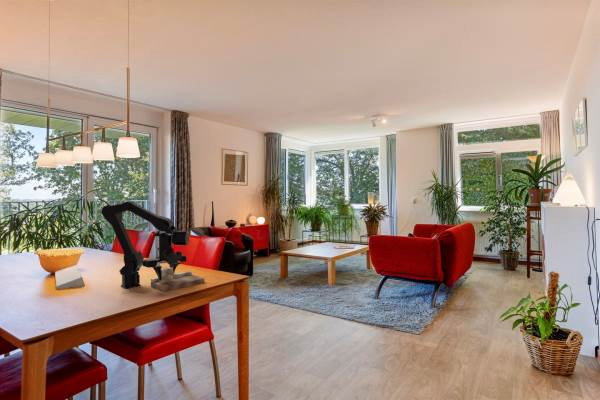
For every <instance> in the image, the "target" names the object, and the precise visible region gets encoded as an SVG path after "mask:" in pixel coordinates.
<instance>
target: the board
mask: <svg viewBox="0 0 600 400" xmlns="http://www.w3.org/2000/svg"><path fill="white" fill-rule="evenodd" d="M203 283H205V277H201V276H199V275H196V274H193V271H190V270H189V271H184V272H178V273H175V274H174V275H173V281H170V282H166V283H161V282H159V278H158V276H156V277H153V278H150V287H151V288H154V289H157V290H160V291H162V292H164V293H165V292H167V291H169V292H170V291H172V290H179V289H181V288H186V287H190V286H195V285H199V284H203Z"/></svg>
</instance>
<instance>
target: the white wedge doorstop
mask: <svg viewBox="0 0 600 400" xmlns="http://www.w3.org/2000/svg"><path fill="white" fill-rule="evenodd" d="M54 274H55V276H54V277H55V282H56V283H55V284H56V288H57V290H63V289H70V288H76V287H79V288H80V287H84V286H86V284H85V281H84V278H83V276H82V273H81V272H80V269H79V266H78V264H75V265H72V266H68V267H65V268H63V269H60V270H57V271H55V272H54Z"/></svg>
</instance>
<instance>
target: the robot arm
mask: <svg viewBox="0 0 600 400" xmlns="http://www.w3.org/2000/svg"><path fill="white" fill-rule="evenodd" d="M127 211H128V212H130V213H132V214H134V215H136V216H137V217H139V218H141V219H144V220H145V221H147V222H149V223H150V224H151V225H152V226H153V227H154V228H155V229H157V230H158V231H156V232H155V233H154V234H153V237H158V247H157V251H158V256H157V259H155V258H149V259H145V257H144V255H143V254H142V253H143V252H142V251H141V250H140V251H137V250H136V249H135V247H134V245H133V241H132V240H131V239H130V236H129V233H128V231H127V229H126V227H125V224H124V222H123V218H124V217H123V213H125V212H127ZM100 212H101V215H102V216H103V218H104V220H105V221H106V222H107V223H109V224H110V225H111V227H112V229H113V232H114V234H115V236H116V238H117V241H118V243H119V245H120V248H121V251H122V253H123V262H124V263H123V264H124V265H123V267H121V268H120V269H119V274H120V276H121V284H120V287H121V288H124V289H130V288H135V287H139V286H141V284H140V283H141V282H140V281H141V280H140V278H141V277H140V274H139V271H140V270H141V267H145V268H152V269H153V270H154V271H155V274H156V277H158V278H159V280H161V268H163V266H162V265H161V264H168V265H169V266H168V267H171V268H173V272H174V273H175V272H176V269H177V267H178V266H179V265H180V264H181V263H185V262H187V261H188V259H187V257H188V256H186V255H185V254H183V251H174V250H175V249H174V247H173V245H174V246H176V247H177V246H189V243H190V236H189V233H188V230H178V229H177V228H176V226H175V225H174V222H173V220H172V219H171V218H169V217H167V216H166V217H165V216H162V215H160V214H159V215H158V214H156V213H154V212H152V211H150V210H148V209H146V208H144V207H143V206H141V205H139V204H138V203H135V202H134V201H133V200H132V201H131V200H129V201H124V202H121V203H117V204H106V205H103V207H102V209H101V210H100Z"/></svg>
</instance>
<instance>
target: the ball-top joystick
mask: <svg viewBox="0 0 600 400" xmlns="http://www.w3.org/2000/svg"><path fill="white" fill-rule="evenodd" d="M174 274H176V273H175V272H173V268H171V267H169V266H166V267H162V268H161V280H159V282H161V283H166V282H170V281H173V275H174Z"/></svg>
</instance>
